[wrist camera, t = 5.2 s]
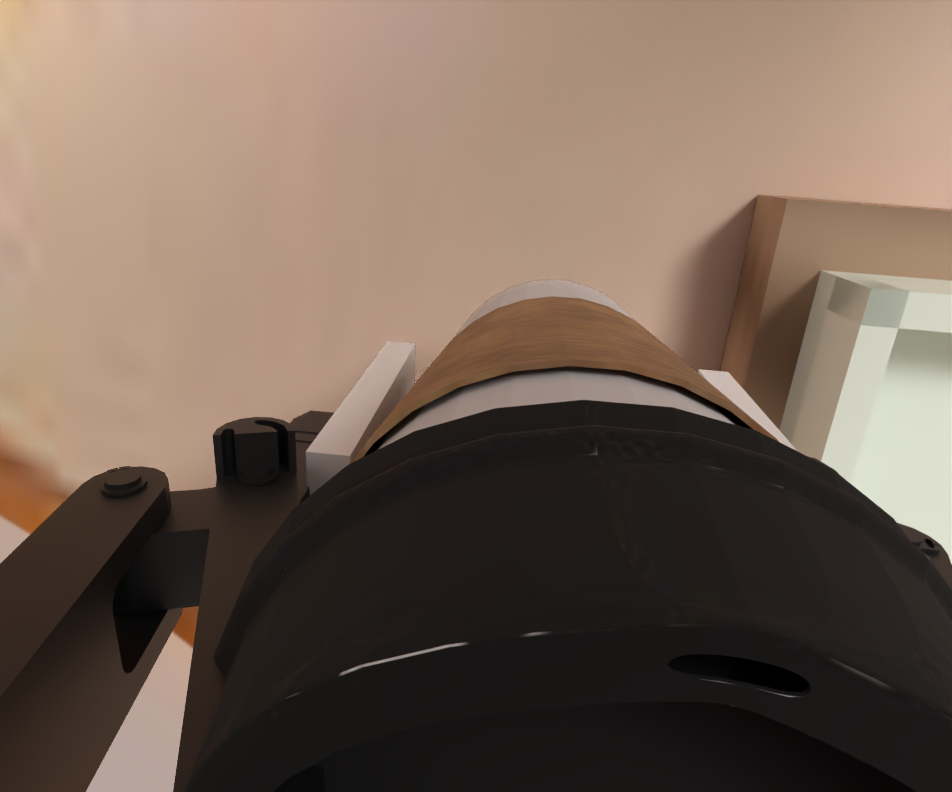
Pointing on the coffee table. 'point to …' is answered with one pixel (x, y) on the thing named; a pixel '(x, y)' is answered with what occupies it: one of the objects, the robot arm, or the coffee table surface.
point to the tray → (880, 393)
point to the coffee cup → (582, 592)
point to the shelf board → (817, 277)
